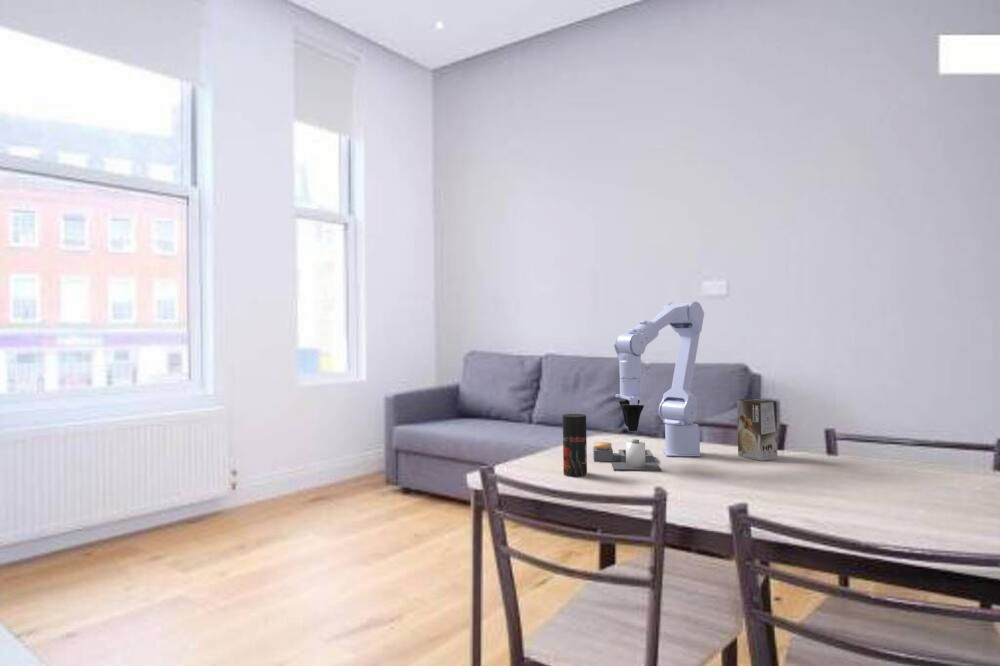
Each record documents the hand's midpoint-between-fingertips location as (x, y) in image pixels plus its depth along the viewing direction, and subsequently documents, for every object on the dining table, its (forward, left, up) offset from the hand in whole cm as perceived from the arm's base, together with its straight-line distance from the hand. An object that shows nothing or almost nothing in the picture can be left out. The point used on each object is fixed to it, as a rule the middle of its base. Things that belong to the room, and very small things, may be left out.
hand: (631, 428), depth 178 cm
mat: (-1, +4, -10) cm, 10 cm away
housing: (+3, -6, -10) cm, 12 cm away
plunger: (+7, -6, -9) cm, 13 cm away
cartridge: (-1, +4, -9) cm, 10 cm away
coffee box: (-36, -10, -10) cm, 38 cm away
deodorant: (+15, +12, -10) cm, 22 cm away
